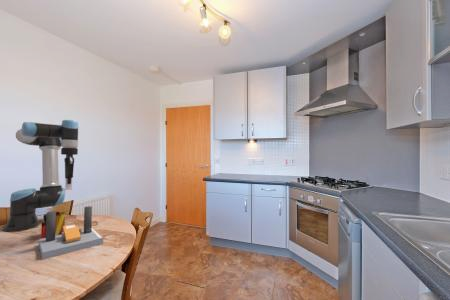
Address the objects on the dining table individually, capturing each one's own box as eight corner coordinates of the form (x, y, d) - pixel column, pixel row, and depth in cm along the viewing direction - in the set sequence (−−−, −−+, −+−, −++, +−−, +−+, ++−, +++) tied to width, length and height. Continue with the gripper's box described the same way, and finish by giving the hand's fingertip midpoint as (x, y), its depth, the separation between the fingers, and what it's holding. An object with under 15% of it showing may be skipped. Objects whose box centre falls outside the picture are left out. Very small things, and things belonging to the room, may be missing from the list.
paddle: (62, 229, 110) (62, 226, 110) (76, 226, 114) (76, 223, 114) (65, 242, 102) (66, 239, 102) (81, 239, 106) (81, 236, 106)
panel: (38, 245, 106) (39, 231, 107) (92, 233, 123) (93, 221, 124) (42, 259, 92) (43, 243, 93) (103, 243, 109) (103, 230, 110)
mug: (40, 242, 110) (41, 219, 110) (43, 234, 121) (44, 213, 121) (63, 238, 116) (64, 216, 116) (64, 230, 127) (65, 210, 127)
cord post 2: (82, 232, 117) (83, 206, 117) (90, 230, 119) (91, 205, 120) (84, 234, 114) (85, 208, 115) (92, 232, 117) (92, 207, 117)
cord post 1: (45, 240, 105) (46, 212, 106) (54, 238, 108) (55, 210, 108) (46, 242, 103) (47, 213, 103) (55, 240, 105) (56, 212, 106)
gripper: (59, 147, 120) (58, 189, 119) (63, 147, 111) (62, 191, 110) (75, 148, 126) (74, 187, 125) (80, 147, 116) (79, 190, 116)
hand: (68, 189), depth 118 cm, fingers closed
